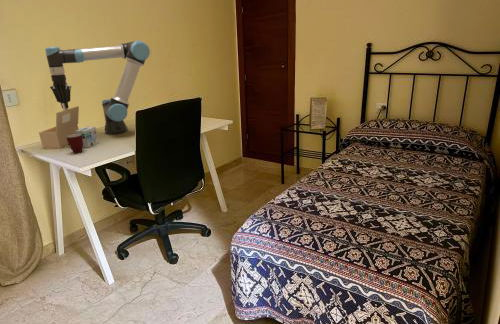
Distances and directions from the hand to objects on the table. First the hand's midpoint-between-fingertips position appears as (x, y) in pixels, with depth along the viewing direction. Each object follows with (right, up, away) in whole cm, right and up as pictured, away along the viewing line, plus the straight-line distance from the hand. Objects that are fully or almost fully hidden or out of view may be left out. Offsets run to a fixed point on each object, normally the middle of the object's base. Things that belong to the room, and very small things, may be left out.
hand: (66, 113), depth 212 cm
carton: (-7, -18, +8) cm, 21 cm away
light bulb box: (+13, -20, +2) cm, 24 cm away
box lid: (0, -3, +1) cm, 3 cm away
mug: (+12, -24, -10) cm, 29 cm away
